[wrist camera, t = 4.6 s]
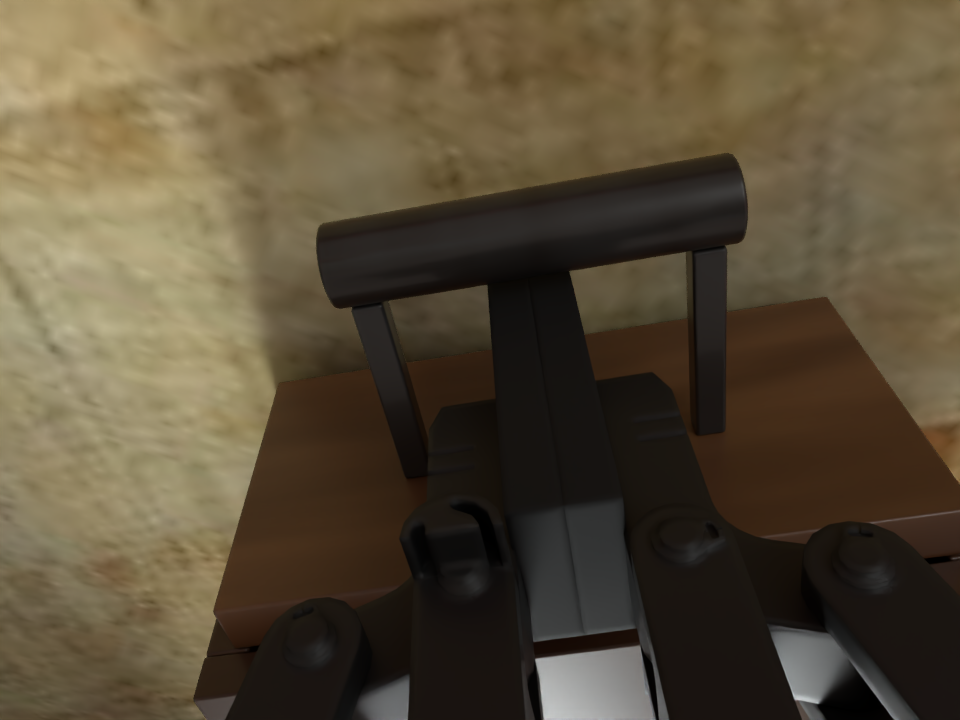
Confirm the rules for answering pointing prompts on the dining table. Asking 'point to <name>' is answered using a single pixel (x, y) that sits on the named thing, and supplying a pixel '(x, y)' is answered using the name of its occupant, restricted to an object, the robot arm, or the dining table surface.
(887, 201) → the dining table surface
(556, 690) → the cabinet
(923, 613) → the robot arm
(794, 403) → the drawer
